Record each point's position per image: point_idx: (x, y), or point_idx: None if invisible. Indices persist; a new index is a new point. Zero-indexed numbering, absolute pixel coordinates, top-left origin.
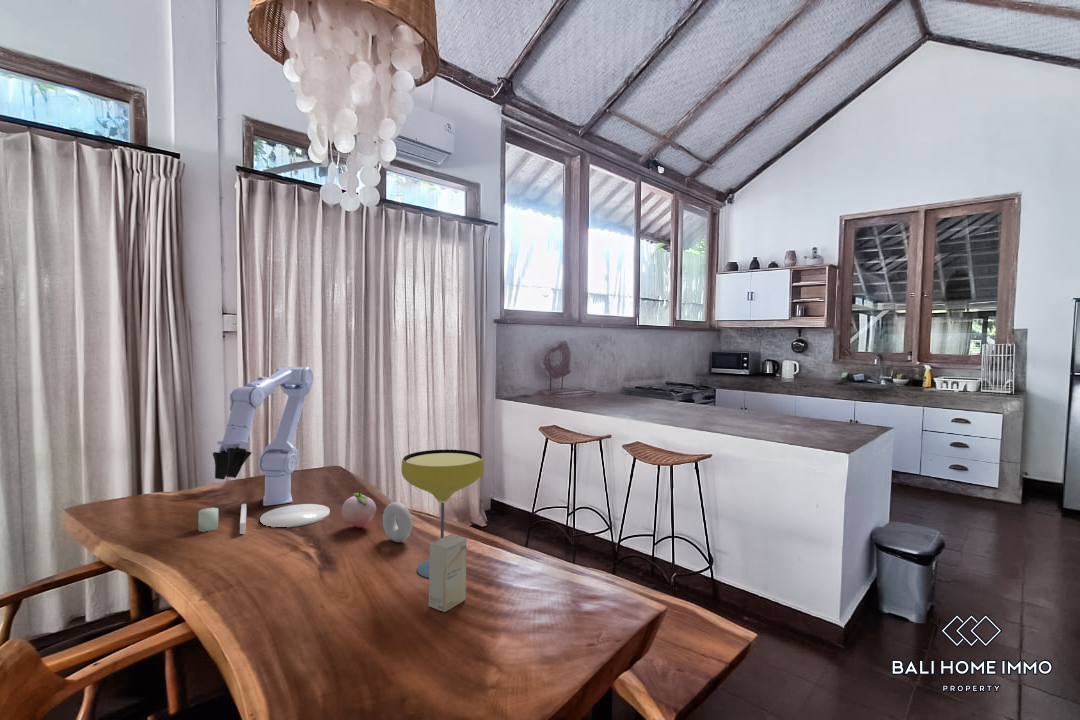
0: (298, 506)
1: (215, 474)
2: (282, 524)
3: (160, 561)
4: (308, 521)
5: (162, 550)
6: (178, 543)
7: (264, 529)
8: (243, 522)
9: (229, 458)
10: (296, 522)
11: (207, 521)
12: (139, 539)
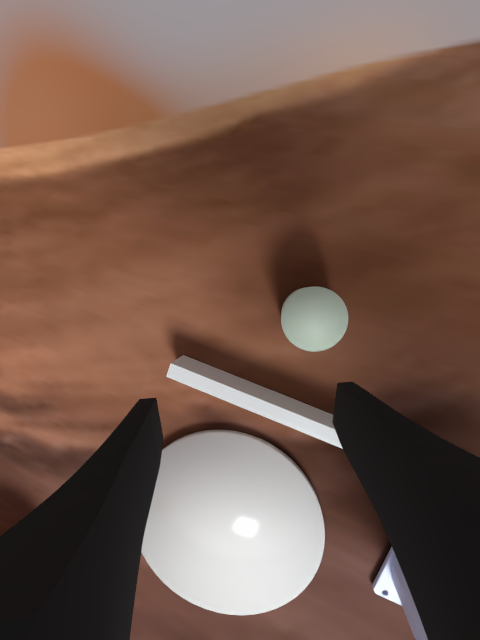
0: (289, 569)
1: (358, 392)
2: None
3: (132, 155)
4: None
5: (210, 173)
6: (237, 217)
7: (181, 415)
8: (173, 373)
9: (56, 507)
10: None
11: (283, 305)
12: (364, 137)
